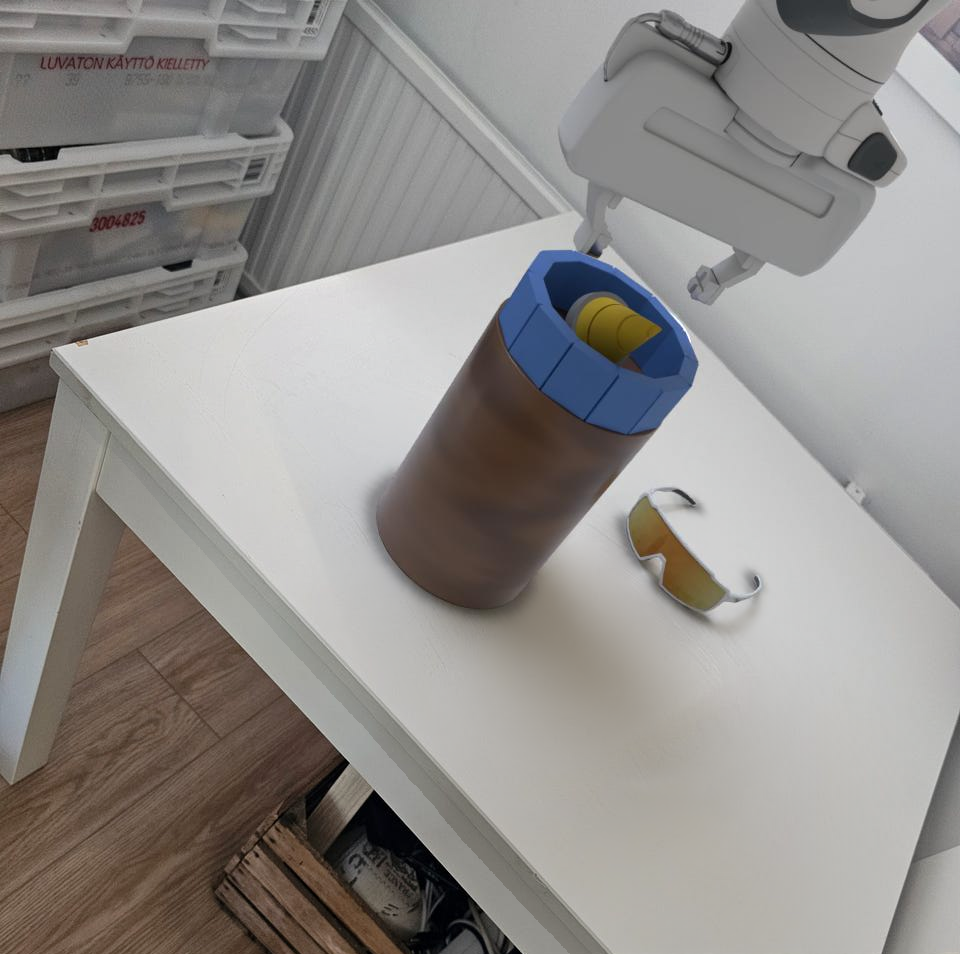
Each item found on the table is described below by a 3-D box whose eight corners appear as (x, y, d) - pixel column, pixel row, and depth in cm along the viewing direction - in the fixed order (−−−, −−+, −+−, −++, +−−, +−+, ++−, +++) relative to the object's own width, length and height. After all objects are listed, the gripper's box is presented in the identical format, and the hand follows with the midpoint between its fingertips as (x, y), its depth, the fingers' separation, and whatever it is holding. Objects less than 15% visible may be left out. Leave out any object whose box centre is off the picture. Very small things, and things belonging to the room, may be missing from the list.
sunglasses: (598, 517, 98) (632, 481, 95) (669, 502, 110) (701, 470, 107) (691, 633, 95) (730, 600, 92) (754, 606, 106) (790, 575, 104)
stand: (386, 592, 79) (517, 404, 65) (367, 460, 87) (481, 268, 73) (540, 622, 86) (688, 457, 72) (510, 497, 93) (638, 327, 80)
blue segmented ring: (520, 402, 66) (553, 354, 63) (485, 272, 73) (513, 225, 70) (683, 452, 72) (720, 412, 69) (636, 328, 80) (667, 287, 77)
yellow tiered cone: (611, 356, 76) (702, 353, 68) (554, 384, 74) (640, 385, 66) (590, 284, 74) (682, 272, 65) (531, 311, 72) (617, 303, 64)
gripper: (659, 24, 52) (517, 249, 61) (926, 177, 62) (769, 351, 71) (628, -34, 55) (498, 187, 64) (885, 120, 65) (741, 292, 74)
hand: (642, 274), depth 68 cm, fingers open, 8 cm apart
